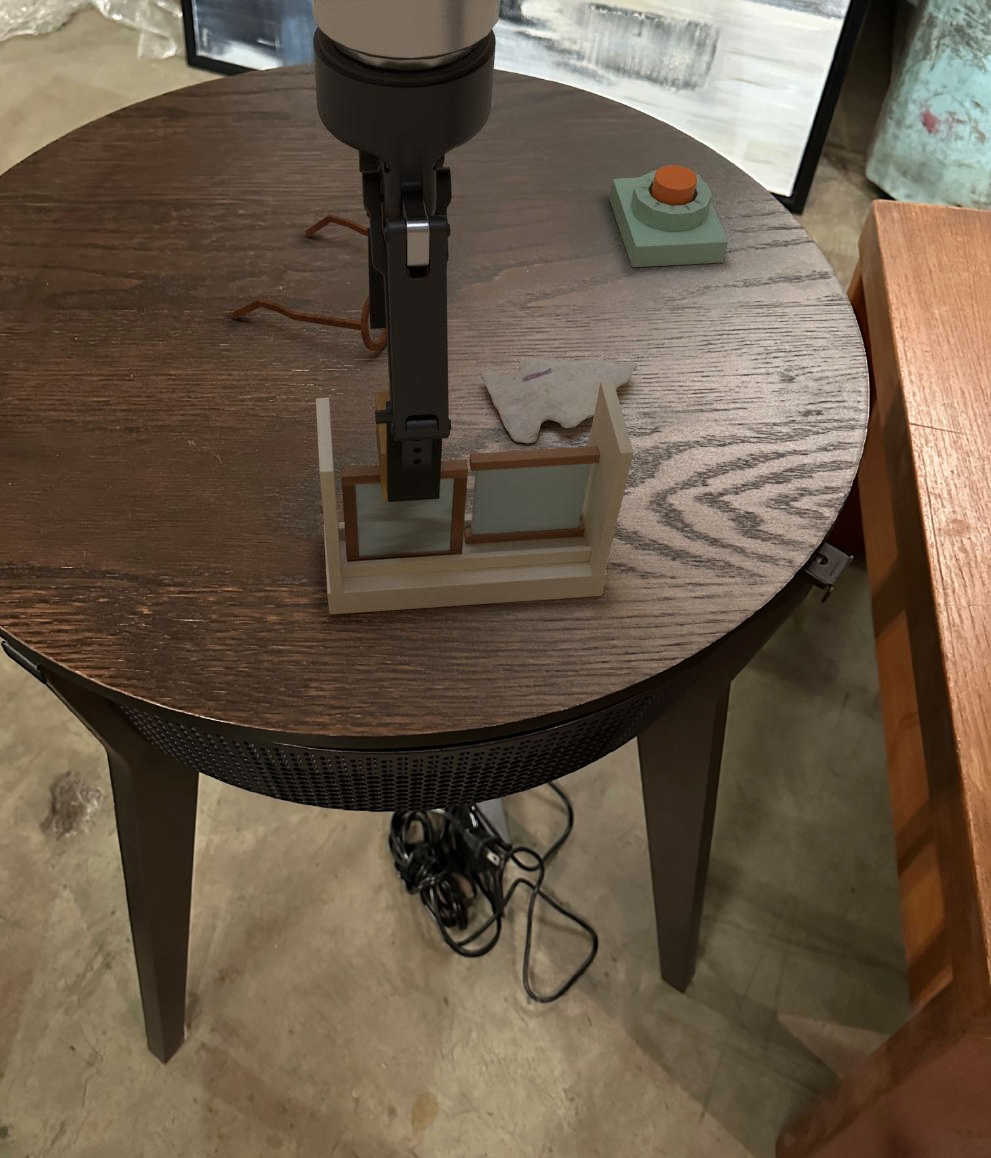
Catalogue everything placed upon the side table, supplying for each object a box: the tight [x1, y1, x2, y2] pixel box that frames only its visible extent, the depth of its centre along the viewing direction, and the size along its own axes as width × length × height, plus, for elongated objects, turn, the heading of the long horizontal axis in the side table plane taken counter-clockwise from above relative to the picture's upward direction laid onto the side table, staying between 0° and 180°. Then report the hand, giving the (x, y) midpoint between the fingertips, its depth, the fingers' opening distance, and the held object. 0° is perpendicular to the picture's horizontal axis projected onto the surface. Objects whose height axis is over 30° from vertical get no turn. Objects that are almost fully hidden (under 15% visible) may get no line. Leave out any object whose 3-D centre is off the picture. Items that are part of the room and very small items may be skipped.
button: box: [651, 164, 697, 206], centre depth 95 cm, size 4×4×2 cm
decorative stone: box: [480, 356, 638, 444], centre depth 85 cm, size 8×12×3 cm
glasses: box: [231, 214, 387, 352], centre depth 91 cm, size 13×13×5 cm
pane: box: [340, 390, 469, 562], centre depth 68 cm, size 8×5×13 cm, turn 95°
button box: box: [609, 169, 729, 268], centre depth 97 cm, size 8×10×4 cm
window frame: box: [315, 381, 635, 615], centre depth 70 cm, size 18×6×14 cm, turn 95°
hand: (402, 404), depth 62 cm, fingers open, 13 cm apart
